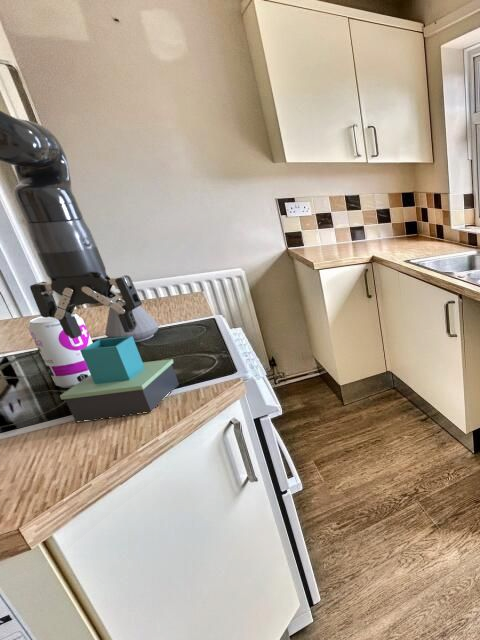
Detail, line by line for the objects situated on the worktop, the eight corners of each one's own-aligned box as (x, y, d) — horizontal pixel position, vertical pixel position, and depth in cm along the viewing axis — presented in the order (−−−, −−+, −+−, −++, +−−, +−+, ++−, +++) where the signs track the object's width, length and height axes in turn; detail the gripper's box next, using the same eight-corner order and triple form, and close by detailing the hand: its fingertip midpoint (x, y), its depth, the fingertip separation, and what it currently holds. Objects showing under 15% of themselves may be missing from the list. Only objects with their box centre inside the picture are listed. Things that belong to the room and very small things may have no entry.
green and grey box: (73, 424, 78) (59, 395, 75) (113, 392, 89) (101, 366, 87) (152, 413, 81) (141, 385, 78) (181, 384, 92) (172, 359, 90)
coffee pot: (107, 339, 119) (86, 287, 113) (158, 328, 126) (140, 279, 121) (115, 360, 105) (91, 302, 99) (172, 346, 112) (152, 292, 107)
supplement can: (115, 373, 98) (90, 312, 92) (76, 390, 90) (45, 324, 84) (87, 371, 99) (60, 310, 93) (46, 388, 92) (13, 323, 86)
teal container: (94, 384, 79) (79, 350, 77) (112, 371, 84) (98, 339, 82) (129, 380, 81) (116, 346, 78) (144, 368, 86) (132, 336, 83)
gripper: (127, 241, 78) (157, 323, 84) (32, 246, 75) (71, 331, 81) (102, 247, 71) (137, 336, 78) (-3, 254, 68) (42, 346, 74)
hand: (103, 333), depth 79 cm, fingers open, 8 cm apart
